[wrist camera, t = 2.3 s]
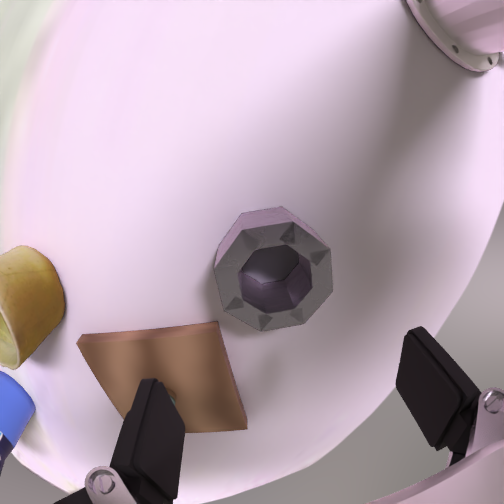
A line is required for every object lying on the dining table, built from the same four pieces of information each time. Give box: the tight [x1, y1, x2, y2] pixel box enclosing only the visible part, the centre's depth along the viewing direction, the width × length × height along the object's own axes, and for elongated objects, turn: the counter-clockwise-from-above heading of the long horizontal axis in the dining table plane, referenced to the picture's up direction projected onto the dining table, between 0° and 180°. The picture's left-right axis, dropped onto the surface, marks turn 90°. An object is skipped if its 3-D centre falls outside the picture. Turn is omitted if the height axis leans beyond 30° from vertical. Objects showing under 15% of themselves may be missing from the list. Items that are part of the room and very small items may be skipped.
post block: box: [76, 321, 247, 433], centre depth 22 cm, size 14×14×8 cm
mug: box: [0, 246, 65, 370], centre depth 17 cm, size 12×10×10 cm
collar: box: [214, 207, 333, 331], centre depth 19 cm, size 7×7×4 cm
